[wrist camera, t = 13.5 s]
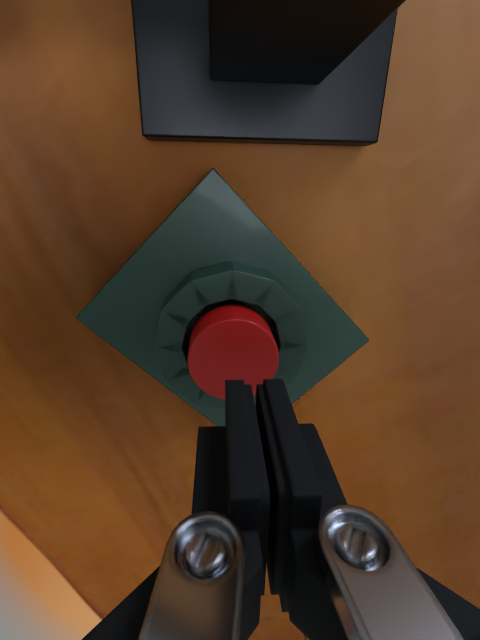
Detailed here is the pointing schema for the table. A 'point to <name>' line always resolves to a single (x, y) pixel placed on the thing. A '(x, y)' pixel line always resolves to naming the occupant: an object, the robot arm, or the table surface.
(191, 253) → the button box
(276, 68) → the bracket
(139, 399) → the table surface
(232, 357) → the button
